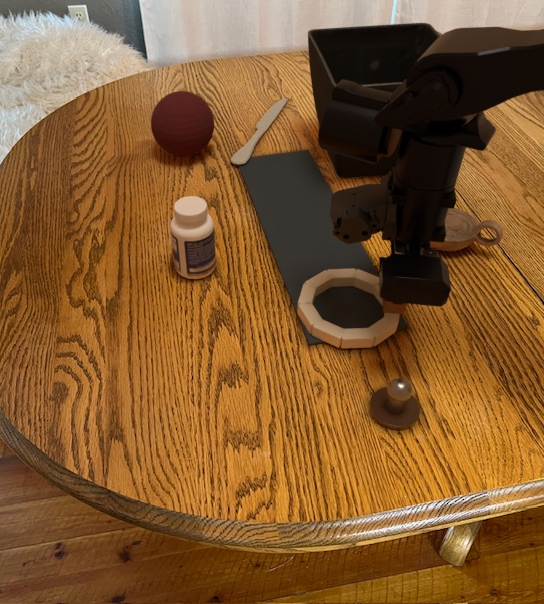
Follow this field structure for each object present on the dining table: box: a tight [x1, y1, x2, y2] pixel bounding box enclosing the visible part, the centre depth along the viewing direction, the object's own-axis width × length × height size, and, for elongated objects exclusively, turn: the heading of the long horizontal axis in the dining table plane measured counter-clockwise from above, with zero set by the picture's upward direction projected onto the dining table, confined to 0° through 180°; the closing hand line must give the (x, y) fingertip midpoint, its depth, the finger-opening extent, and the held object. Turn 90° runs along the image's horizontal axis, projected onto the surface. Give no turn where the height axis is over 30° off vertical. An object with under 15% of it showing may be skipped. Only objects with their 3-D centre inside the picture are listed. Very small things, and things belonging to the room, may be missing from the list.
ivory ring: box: [296, 268, 408, 349], centre depth 69 cm, size 12×12×7 cm
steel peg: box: [368, 377, 421, 431], centre depth 60 cm, size 5×5×4 cm
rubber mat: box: [237, 149, 410, 346], centre depth 83 cm, size 40×12×1 cm, turn 11°
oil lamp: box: [430, 207, 504, 252], centre depth 79 cm, size 13×8×5 cm, turn 55°
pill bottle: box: [169, 195, 217, 280], centre depth 75 cm, size 5×5×10 cm
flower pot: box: [307, 22, 440, 179], centre depth 90 cm, size 19×19×17 cm
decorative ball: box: [150, 90, 215, 158], centre depth 95 cm, size 10×10×10 cm
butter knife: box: [230, 98, 289, 166], centre depth 102 cm, size 1×24×3 cm
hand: (396, 291), depth 68 cm, fingers open, 3 cm apart
